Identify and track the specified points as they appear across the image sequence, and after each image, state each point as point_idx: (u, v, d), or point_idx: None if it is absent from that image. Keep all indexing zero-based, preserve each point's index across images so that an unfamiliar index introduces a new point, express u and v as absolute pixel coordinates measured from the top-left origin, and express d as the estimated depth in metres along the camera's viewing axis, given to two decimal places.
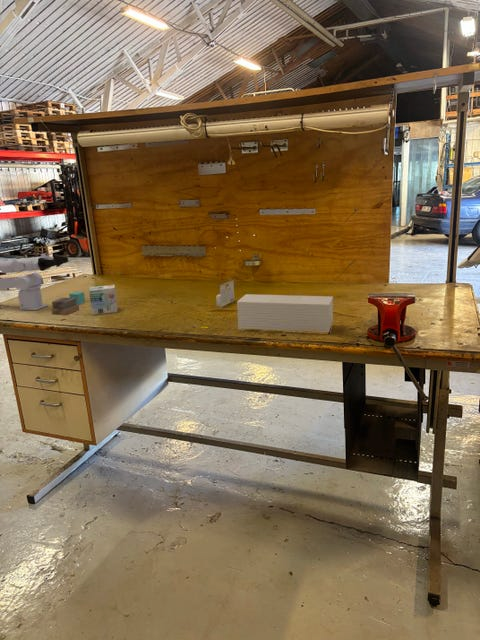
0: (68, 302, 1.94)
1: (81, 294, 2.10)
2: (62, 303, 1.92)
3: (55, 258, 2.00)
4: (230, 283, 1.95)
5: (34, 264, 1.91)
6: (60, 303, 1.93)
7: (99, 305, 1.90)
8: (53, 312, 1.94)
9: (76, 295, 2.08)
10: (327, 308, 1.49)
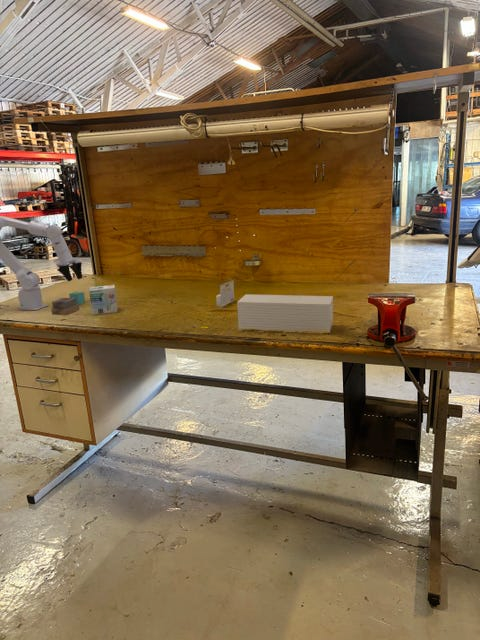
0: (68, 302, 1.94)
1: (81, 294, 2.10)
2: (63, 303, 1.92)
3: (66, 267, 2.07)
4: (230, 283, 1.95)
5: (78, 260, 2.00)
6: (60, 303, 1.93)
7: (99, 305, 1.90)
8: (52, 312, 1.94)
9: (76, 295, 2.08)
10: (328, 308, 1.49)
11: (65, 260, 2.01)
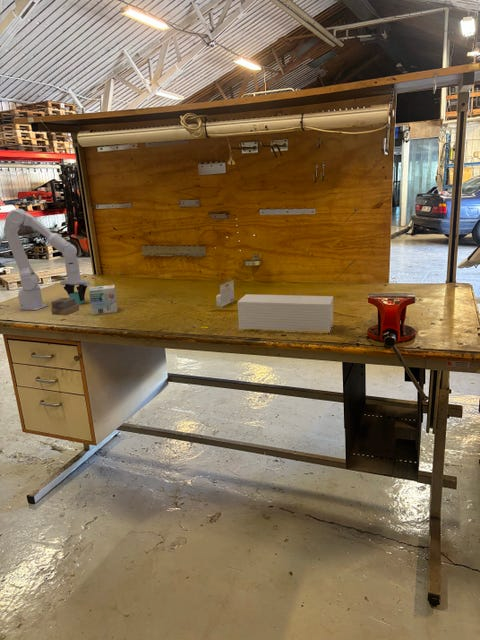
0: (68, 302, 1.93)
1: None
2: (62, 303, 1.92)
3: (72, 286, 2.11)
4: (230, 283, 1.95)
5: (89, 283, 2.07)
6: (60, 303, 1.92)
7: (99, 305, 1.90)
8: (52, 312, 1.94)
9: (75, 295, 2.08)
10: (328, 308, 1.49)
11: (75, 280, 2.06)
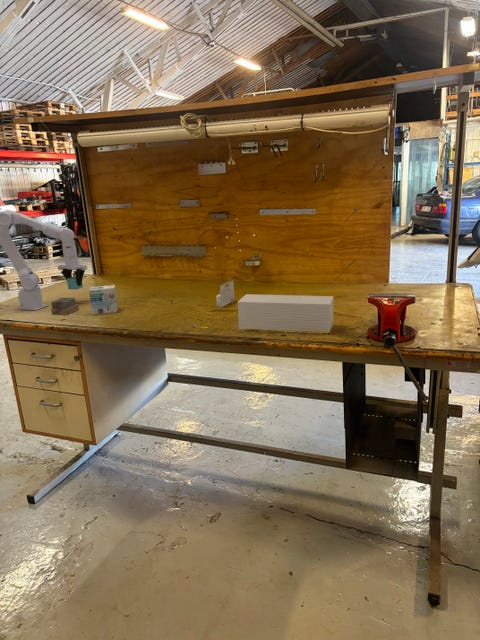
0: (68, 302, 1.94)
1: None
2: (62, 303, 1.92)
3: (70, 271, 2.09)
4: (230, 283, 1.95)
5: (86, 267, 2.05)
6: (60, 303, 1.93)
7: (99, 305, 1.90)
8: (52, 312, 1.94)
9: (73, 280, 2.05)
10: (328, 308, 1.49)
11: (72, 265, 2.03)
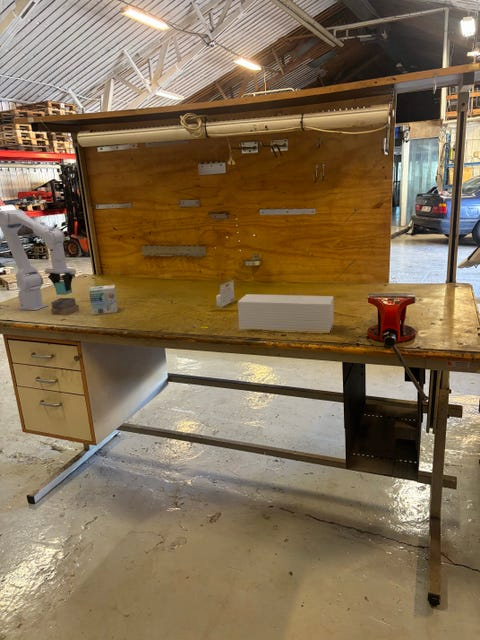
0: (68, 302, 1.93)
1: None
2: (62, 303, 1.92)
3: (57, 275, 1.96)
4: (230, 283, 1.95)
5: (75, 271, 1.92)
6: (60, 303, 1.92)
7: (99, 305, 1.90)
8: (52, 312, 1.94)
9: (61, 284, 1.93)
10: (328, 308, 1.49)
11: (60, 268, 1.91)
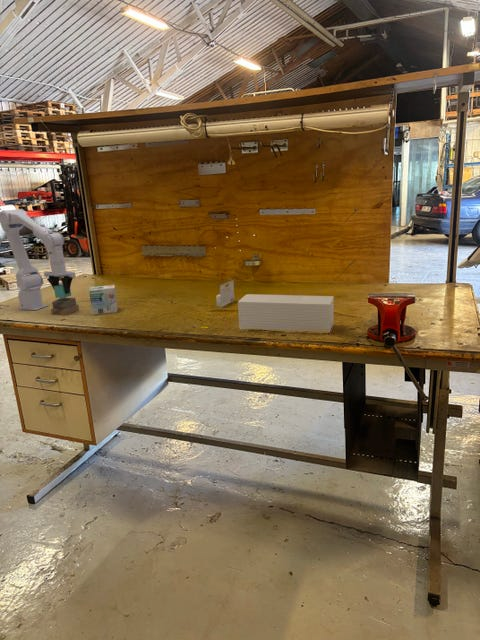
0: (69, 302, 1.93)
1: None
2: (63, 303, 1.92)
3: (57, 278, 1.95)
4: (230, 283, 1.95)
5: (74, 274, 1.91)
6: (61, 303, 1.92)
7: (99, 305, 1.90)
8: (52, 312, 1.94)
9: (60, 287, 1.92)
10: (328, 308, 1.49)
11: (59, 271, 1.90)
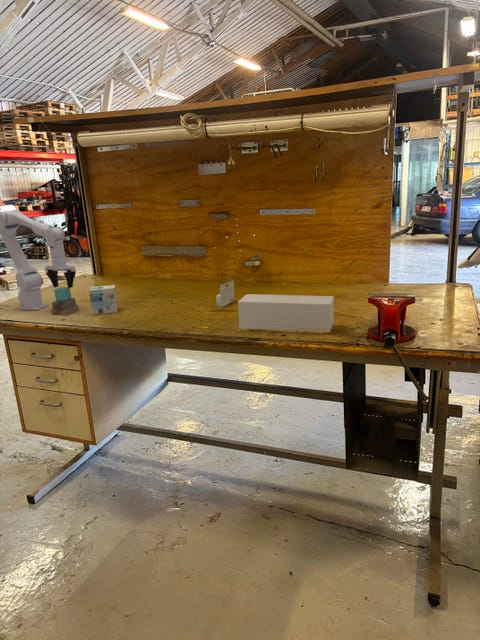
0: (69, 302, 1.93)
1: (67, 289, 1.94)
2: (63, 303, 1.92)
3: (55, 272, 1.98)
4: (230, 283, 1.95)
5: (75, 268, 1.93)
6: (61, 303, 1.92)
7: (99, 305, 1.90)
8: (52, 312, 1.94)
9: (61, 290, 1.92)
10: (328, 308, 1.49)
11: (60, 266, 1.92)
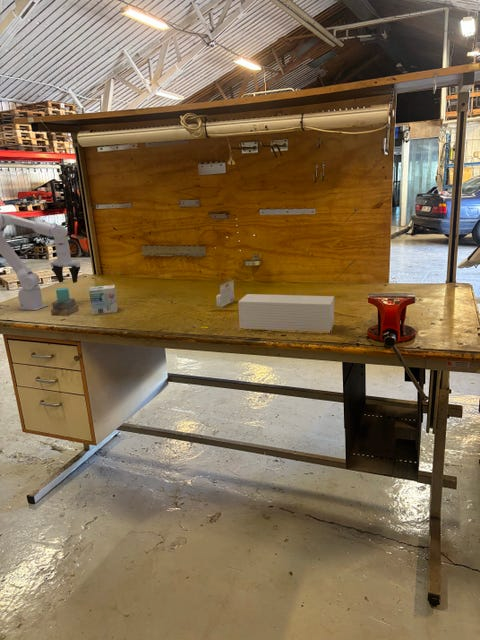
0: (69, 302, 1.93)
1: None
2: (64, 304, 1.91)
3: (60, 268, 2.07)
4: (230, 283, 1.95)
5: (79, 264, 2.03)
6: (62, 304, 1.91)
7: (99, 305, 1.90)
8: (52, 313, 1.93)
9: (65, 290, 1.92)
10: (328, 308, 1.49)
11: (65, 262, 2.02)
